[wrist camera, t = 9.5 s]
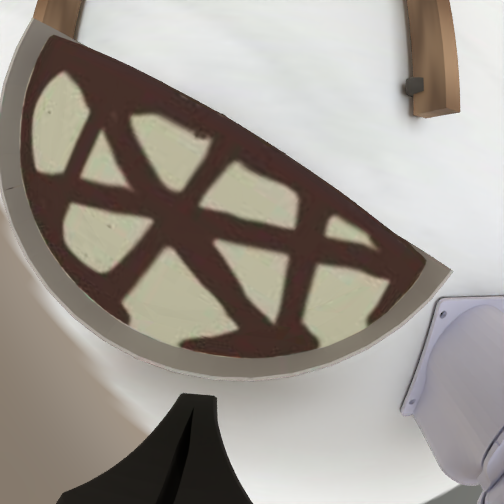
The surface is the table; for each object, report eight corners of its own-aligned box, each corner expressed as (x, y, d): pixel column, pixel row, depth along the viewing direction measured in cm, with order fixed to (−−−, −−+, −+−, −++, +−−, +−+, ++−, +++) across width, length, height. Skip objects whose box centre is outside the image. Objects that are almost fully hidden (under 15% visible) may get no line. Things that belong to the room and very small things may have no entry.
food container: (88, 186, 15) (-56, 226, 6) (144, 84, 14) (21, 14, 4) (281, 306, 17) (306, 455, 7) (349, 211, 16) (465, 282, 6)
